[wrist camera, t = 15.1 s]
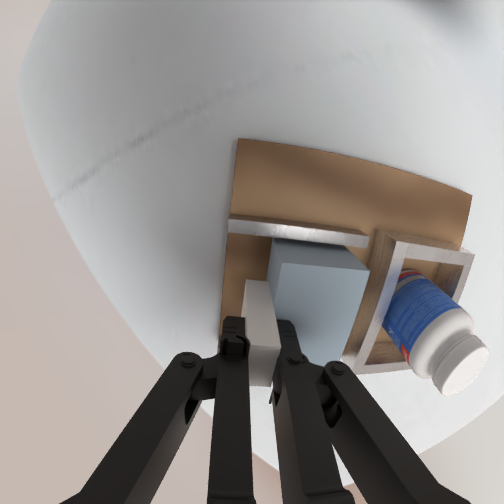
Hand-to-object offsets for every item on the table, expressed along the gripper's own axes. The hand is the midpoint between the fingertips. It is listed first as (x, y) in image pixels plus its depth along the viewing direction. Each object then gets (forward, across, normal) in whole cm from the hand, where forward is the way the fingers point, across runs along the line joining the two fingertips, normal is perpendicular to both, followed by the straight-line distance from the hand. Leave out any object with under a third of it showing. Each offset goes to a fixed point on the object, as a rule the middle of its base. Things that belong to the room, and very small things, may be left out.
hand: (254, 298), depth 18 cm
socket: (+1, +12, 0) cm, 12 cm away
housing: (+1, +3, 0) cm, 3 cm away
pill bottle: (+2, +12, 0) cm, 12 cm away
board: (+3, +8, +2) cm, 8 cm away
